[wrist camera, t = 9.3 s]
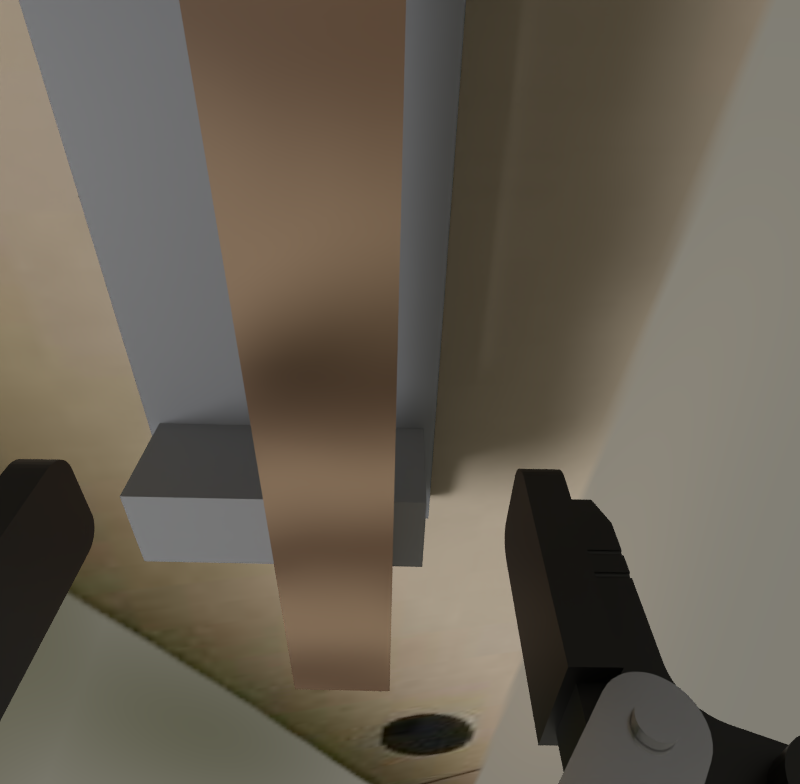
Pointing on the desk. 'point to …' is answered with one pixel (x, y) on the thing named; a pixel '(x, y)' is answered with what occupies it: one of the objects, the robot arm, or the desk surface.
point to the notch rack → (204, 271)
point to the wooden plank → (314, 297)
